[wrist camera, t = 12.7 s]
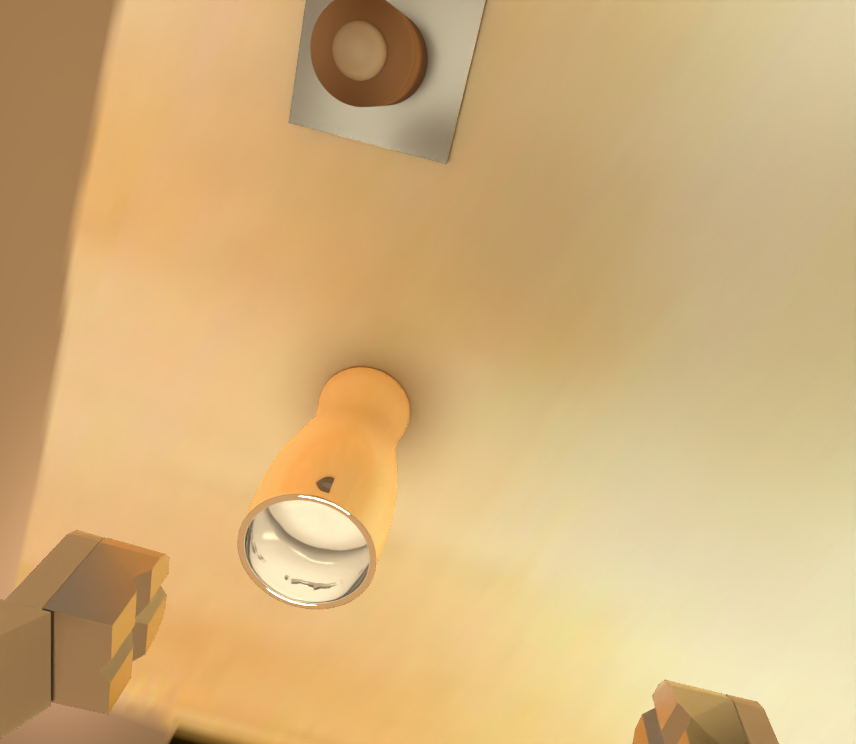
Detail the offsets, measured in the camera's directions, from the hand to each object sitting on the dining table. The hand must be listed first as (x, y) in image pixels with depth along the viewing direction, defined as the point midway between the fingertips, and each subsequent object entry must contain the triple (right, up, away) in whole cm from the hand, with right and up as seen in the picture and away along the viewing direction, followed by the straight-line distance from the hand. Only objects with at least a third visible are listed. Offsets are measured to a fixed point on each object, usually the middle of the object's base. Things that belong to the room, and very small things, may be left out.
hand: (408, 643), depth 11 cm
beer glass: (-4, +2, +34) cm, 34 cm away
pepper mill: (-2, +21, +24) cm, 32 cm away
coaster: (-2, +21, +25) cm, 33 cm away
